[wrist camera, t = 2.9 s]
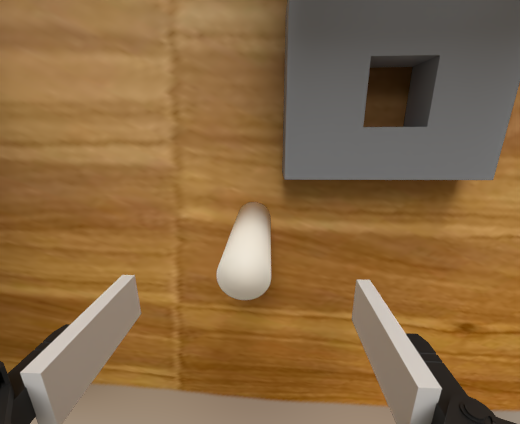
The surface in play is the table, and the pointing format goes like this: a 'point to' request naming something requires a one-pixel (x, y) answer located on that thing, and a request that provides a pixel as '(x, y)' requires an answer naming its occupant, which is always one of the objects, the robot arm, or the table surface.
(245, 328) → the table surface
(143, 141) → the table surface
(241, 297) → the peg
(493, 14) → the socket block
